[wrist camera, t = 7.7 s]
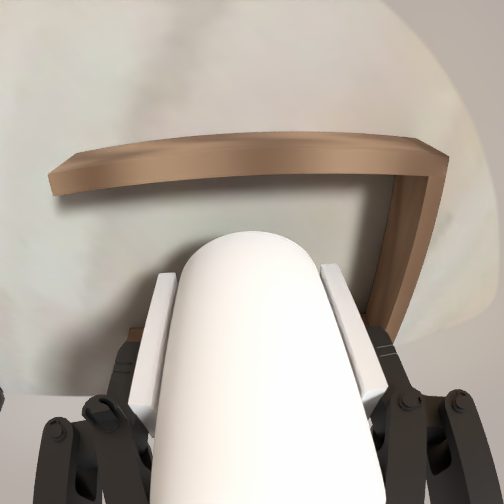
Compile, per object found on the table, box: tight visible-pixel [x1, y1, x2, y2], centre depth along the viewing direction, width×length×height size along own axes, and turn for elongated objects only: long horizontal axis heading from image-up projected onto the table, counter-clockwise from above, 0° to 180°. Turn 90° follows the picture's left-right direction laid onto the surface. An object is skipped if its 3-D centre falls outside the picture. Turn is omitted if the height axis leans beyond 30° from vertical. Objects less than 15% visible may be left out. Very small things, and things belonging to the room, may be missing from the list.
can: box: [150, 231, 386, 504], centre depth 10 cm, size 6×6×12 cm
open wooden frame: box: [48, 132, 449, 343], centre depth 16 cm, size 17×13×3 cm
